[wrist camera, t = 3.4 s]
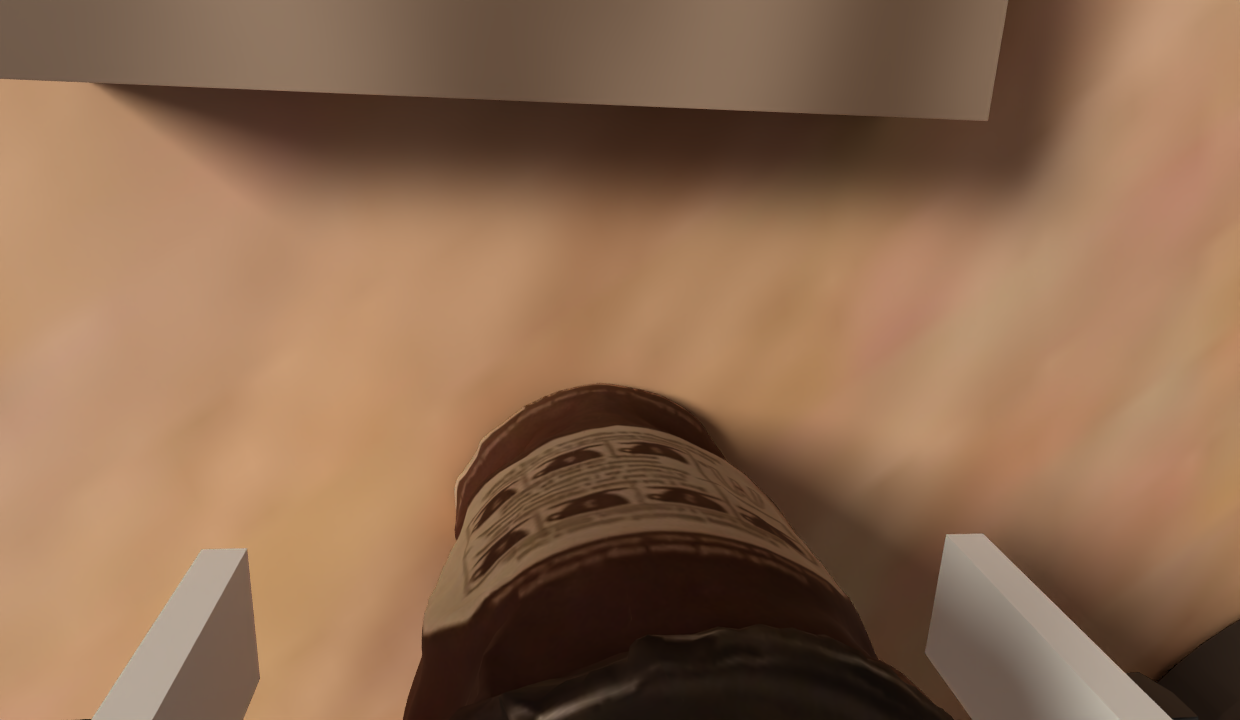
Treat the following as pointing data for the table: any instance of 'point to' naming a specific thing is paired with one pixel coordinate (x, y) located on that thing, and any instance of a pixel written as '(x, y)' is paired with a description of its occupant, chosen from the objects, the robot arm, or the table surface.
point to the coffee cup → (636, 584)
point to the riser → (534, 50)
